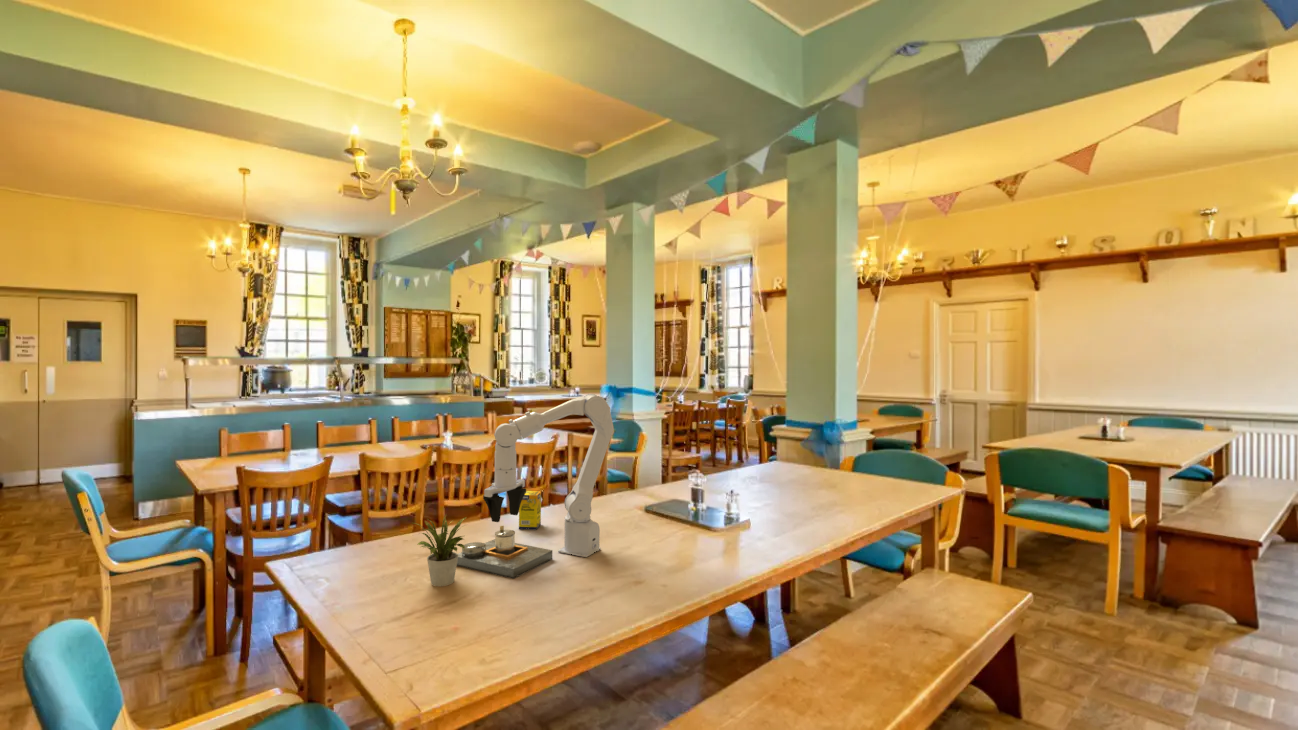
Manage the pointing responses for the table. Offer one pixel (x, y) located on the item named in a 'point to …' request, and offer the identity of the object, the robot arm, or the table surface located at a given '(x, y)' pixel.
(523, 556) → the grey block with opening
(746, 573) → the table surface
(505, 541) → the spout can
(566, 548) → the robot arm
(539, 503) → the supplement box
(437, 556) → the house plant
